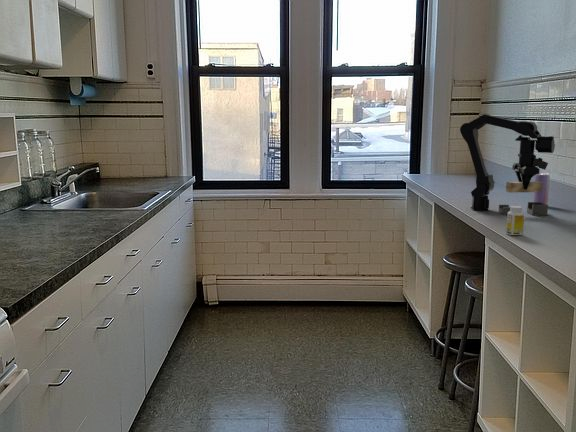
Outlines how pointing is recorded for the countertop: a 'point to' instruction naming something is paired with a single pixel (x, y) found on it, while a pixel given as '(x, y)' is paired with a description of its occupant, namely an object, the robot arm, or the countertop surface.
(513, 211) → the supplement bottle
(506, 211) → the dark grey arch block
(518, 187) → the rail
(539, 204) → the bracket
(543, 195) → the beverage can
